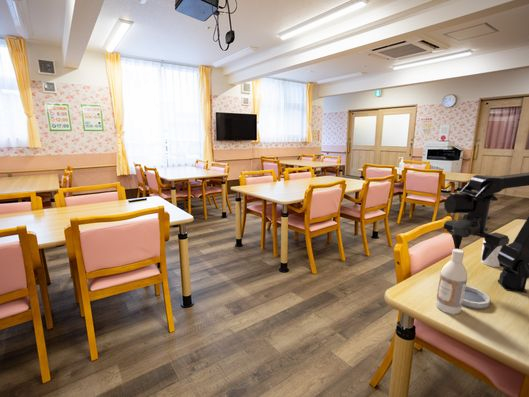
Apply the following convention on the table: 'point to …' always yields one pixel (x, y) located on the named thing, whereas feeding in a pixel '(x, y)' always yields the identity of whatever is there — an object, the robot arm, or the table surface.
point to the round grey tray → (475, 298)
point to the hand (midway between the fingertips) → (469, 254)
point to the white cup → (491, 257)
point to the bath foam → (452, 284)
